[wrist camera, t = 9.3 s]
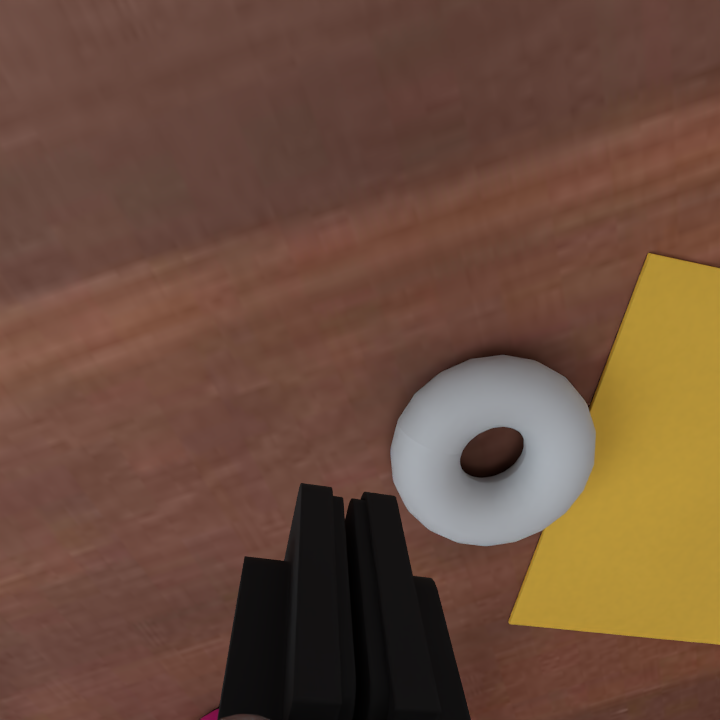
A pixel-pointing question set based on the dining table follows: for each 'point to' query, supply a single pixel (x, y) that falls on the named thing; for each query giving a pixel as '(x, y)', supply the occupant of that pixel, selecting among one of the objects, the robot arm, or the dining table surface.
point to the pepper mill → (211, 715)
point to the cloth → (645, 477)
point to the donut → (475, 415)
